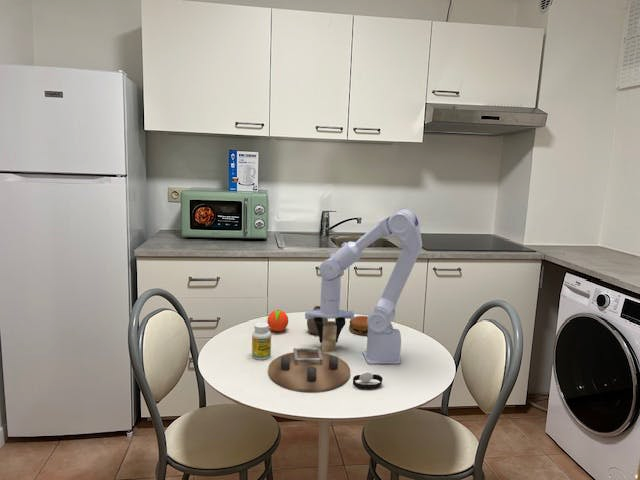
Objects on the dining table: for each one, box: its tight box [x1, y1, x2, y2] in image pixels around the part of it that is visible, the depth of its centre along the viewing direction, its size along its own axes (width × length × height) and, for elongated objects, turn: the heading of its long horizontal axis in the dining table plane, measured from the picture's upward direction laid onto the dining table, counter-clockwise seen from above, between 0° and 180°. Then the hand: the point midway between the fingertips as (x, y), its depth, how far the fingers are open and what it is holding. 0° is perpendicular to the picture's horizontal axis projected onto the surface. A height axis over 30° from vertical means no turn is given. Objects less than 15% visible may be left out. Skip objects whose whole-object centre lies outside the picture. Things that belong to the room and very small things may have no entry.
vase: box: [306, 305, 329, 336], centre depth 153 cm, size 7×7×9 cm
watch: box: [352, 371, 383, 390], centre depth 119 cm, size 8×5×4 cm, turn 99°
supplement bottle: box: [251, 321, 272, 361], centre depth 133 cm, size 5×5×10 cm
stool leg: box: [320, 320, 337, 353], centre depth 141 cm, size 4×4×8 cm
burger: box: [348, 315, 368, 336], centre depth 156 cm, size 10×9×5 cm
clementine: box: [266, 309, 289, 332], centre depth 153 cm, size 8×7×7 cm
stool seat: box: [267, 347, 351, 393], centre depth 126 cm, size 22×22×4 cm
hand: (328, 341), depth 141 cm, fingers closed on stool leg, 4 cm apart
